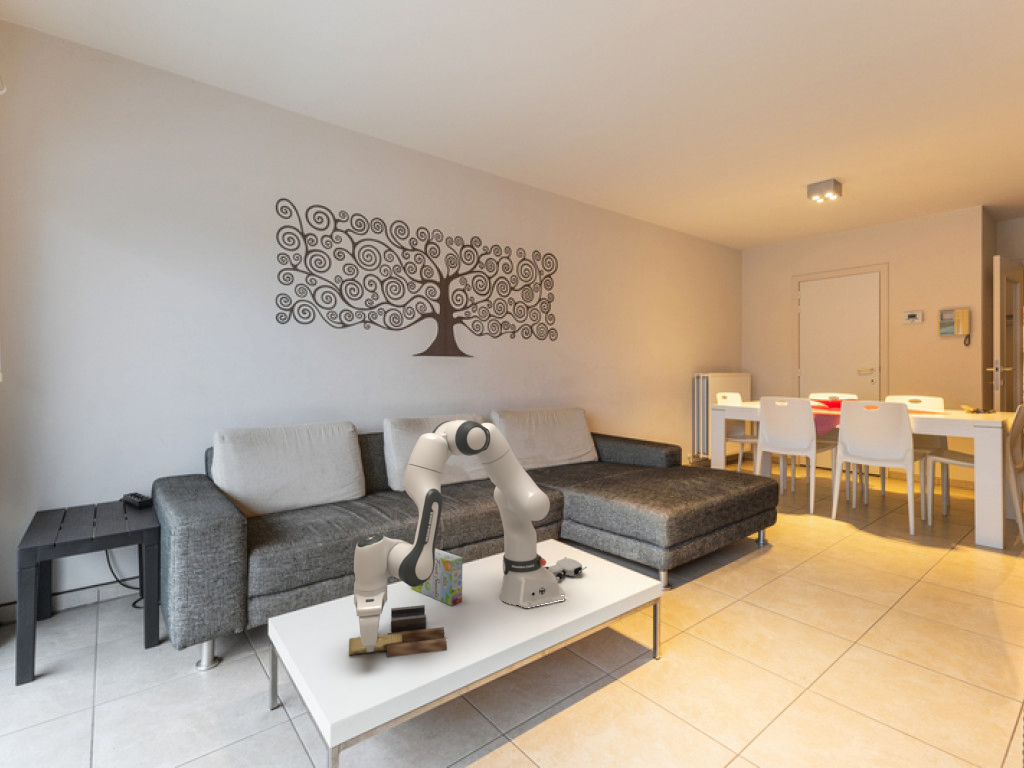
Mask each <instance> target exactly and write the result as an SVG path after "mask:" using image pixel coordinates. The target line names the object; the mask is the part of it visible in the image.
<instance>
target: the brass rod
mask: <svg viewBox="0 0 1024 768" xmlns="http://www.w3.org/2000/svg"><path fill="white" fill-rule="evenodd" d="M393 644H402V633H394V634H379V635H378V637H377V643H376V645H374V650H373V651H372V652H371V653H375V652H384V651H386V652H387V645H393ZM368 653H370V652H367V647H363V646H362V643H361V636H359V637H349V640H348V655H349V656H350V655H351V656H352V655H358V654H368Z"/></svg>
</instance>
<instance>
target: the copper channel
mask: <svg viewBox="0 0 1024 768" xmlns="http://www.w3.org/2000/svg"><path fill="white" fill-rule="evenodd" d="M394 633H402V644H393V645H387V650H386V658H392V657H401V656H407V655H410V656H411V655H416V654H426V653H434V652H442V651H447V646H448V645H447V643H448V641H447V638H446V637H445V627H444V626H442V627H430V628H426V629H422V630H413V631H403V632H394ZM394 633H391V632H387V634H394Z"/></svg>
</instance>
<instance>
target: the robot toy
mask: <svg viewBox="0 0 1024 768" xmlns="http://www.w3.org/2000/svg"><path fill="white" fill-rule="evenodd" d="M544 567H545V568H546V569H548V570H549V571H550V572H552V573H553V574H554V575H555V577H556V579H557V581H561V580H562V579H563V577H564V576H565V575H566V576H568V575H569V577H576V576H575V575H577V576H578V575H580V574H582V572H583V571H584V570H585V569H587V568H588V567H587V566H585V567H583V564H582V563H581V562H579V561H578V560H576V559H572V558H567V556H565V557H564V558H563V559H560V560H559V559H558V560H557V561H556V562H555V565H550V566H544Z"/></svg>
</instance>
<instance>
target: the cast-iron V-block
mask: <svg viewBox="0 0 1024 768" xmlns="http://www.w3.org/2000/svg"><path fill="white" fill-rule="evenodd" d="M390 610H391V612H390V613H391V615H390V633H394V632H403V631H413V630H422V629H427V614H426V606H425V604H422V605H413V606H402V607H392V608H391V609H390Z"/></svg>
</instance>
